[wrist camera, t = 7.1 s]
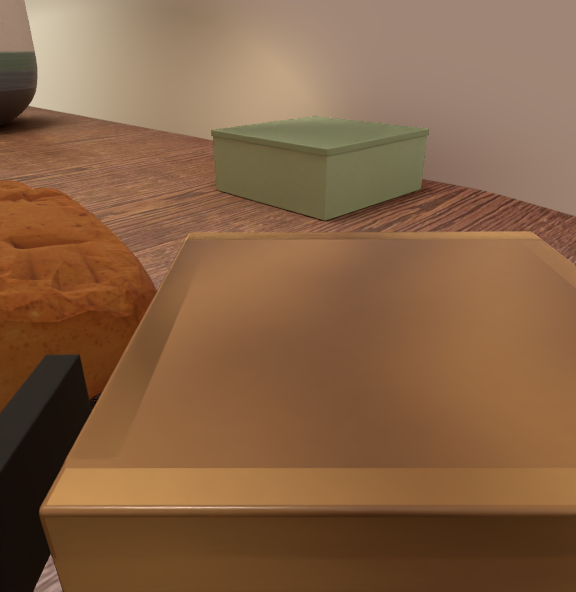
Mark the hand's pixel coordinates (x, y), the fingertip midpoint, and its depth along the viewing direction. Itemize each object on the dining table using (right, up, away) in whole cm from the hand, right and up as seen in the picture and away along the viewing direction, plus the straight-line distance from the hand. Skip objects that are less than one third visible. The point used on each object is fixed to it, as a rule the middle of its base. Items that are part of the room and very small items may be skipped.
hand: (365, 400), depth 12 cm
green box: (+1, +13, +41) cm, 43 cm away
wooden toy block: (0, -6, +1) cm, 6 cm away
